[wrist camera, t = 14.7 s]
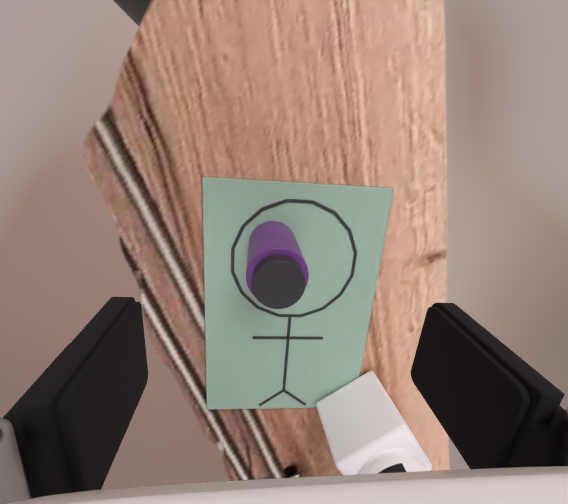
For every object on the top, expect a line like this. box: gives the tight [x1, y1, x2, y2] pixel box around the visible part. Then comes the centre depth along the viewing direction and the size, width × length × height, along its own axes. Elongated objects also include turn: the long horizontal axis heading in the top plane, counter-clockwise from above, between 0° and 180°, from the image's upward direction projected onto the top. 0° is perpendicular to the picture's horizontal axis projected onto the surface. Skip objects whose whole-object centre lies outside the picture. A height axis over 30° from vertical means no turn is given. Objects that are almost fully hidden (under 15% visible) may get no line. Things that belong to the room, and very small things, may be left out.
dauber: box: [246, 221, 309, 309], centre depth 22 cm, size 4×4×9 cm
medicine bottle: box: [316, 371, 432, 475], centre depth 28 cm, size 7×7×12 cm
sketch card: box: [202, 177, 394, 409], centre depth 29 cm, size 24×16×1 cm, turn 176°
